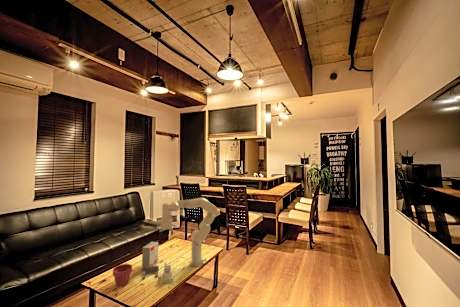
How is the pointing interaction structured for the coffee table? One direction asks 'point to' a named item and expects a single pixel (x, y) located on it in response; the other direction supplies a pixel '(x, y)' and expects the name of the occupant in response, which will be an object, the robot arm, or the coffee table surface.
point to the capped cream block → (167, 271)
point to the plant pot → (122, 274)
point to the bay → (151, 270)
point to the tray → (166, 280)
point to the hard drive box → (150, 255)
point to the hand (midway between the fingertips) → (166, 235)
